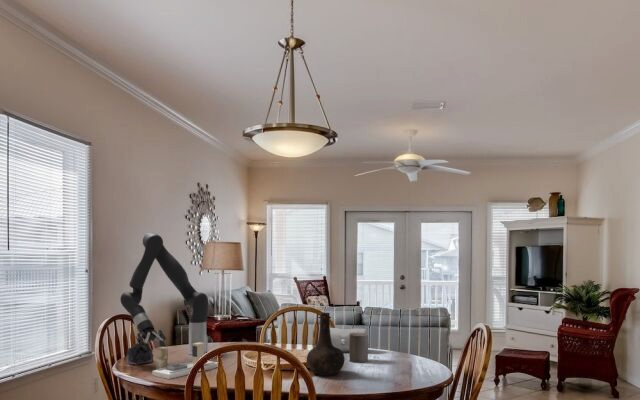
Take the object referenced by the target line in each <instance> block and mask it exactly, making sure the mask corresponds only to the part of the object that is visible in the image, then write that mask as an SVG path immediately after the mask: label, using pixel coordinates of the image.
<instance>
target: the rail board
mask: <svg viewBox="0 0 640 400" xmlns="http://www.w3.org/2000/svg"><path fill="white" fill-rule="evenodd" d="M203 355H204V356H205V354H204V343H200V342H198V343H193V346H192V355H191V356H192V360H191V361H188V362H184V363H175V364H170V365H169V364H168V365H167V366H166V367H165V368H160V369H155V370H152V376H153V377H159V378H163V379H167V380H171V379H175V378H179V377H183V376H189V375H190V374H189V372H190V370H191V368H192V367H193V365H194V364H195V363H196V362H197V361H198V359H199V358H200V357H202V356H203ZM207 361H208V362H207V363H206V364H205V365H204V367H205V370H204V371H207V370H213V369H216V367H217V363H218V362H216V361H211V360H207ZM217 368H218V367H217Z"/></svg>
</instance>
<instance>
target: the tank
mask: <svg viewBox="0 0 640 400" xmlns="http://www.w3.org/2000/svg"><path fill="white" fill-rule="evenodd" d="M358 331H359V333H366V334H368V335H369V331H368V329H367V328H358V327H357V328H347V329H343V328H339V327H330V335H331V342H332V345H333V346H334V347H336V348H338V349H340V350H341V351H342V353H349V337H350V333H356V332H358ZM368 349H369V346H368Z"/></svg>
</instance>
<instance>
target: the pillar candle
mask: <svg viewBox="0 0 640 400" xmlns="http://www.w3.org/2000/svg"><path fill="white" fill-rule="evenodd" d="M368 347H369V333H368V334H366V333H359V331H358V332H356V333H350V337H349V352H348V354H349V362H351V363H358V364H361V363H362V364H363V363H367V362H369V348H368Z"/></svg>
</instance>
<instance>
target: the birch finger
mask: <svg viewBox="0 0 640 400" xmlns="http://www.w3.org/2000/svg"><path fill="white" fill-rule="evenodd" d="M168 353H169V349H168V347H167V346H166V347H161V346H159V347H156V348H155V370H157V369H160V368H165V367H166V366H168V359H169V354H168Z"/></svg>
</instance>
